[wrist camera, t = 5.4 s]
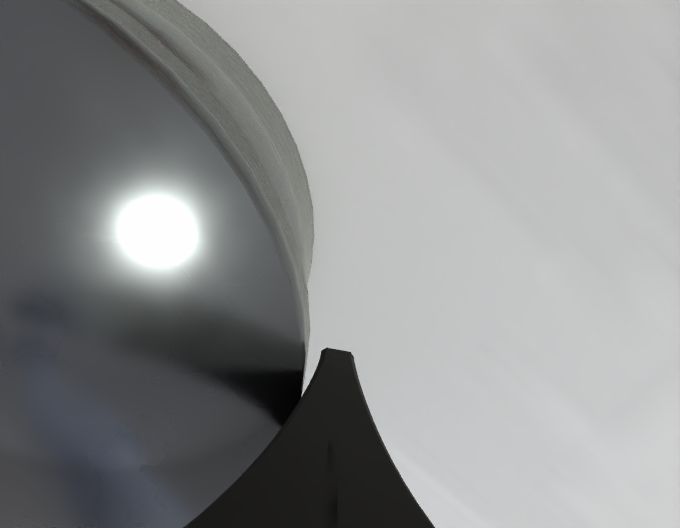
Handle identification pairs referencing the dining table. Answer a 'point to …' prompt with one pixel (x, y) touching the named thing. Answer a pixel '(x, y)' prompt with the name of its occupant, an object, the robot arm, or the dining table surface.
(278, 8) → the dining table surface
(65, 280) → the cooker lid
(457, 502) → the dining table surface
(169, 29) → the cooker pot
